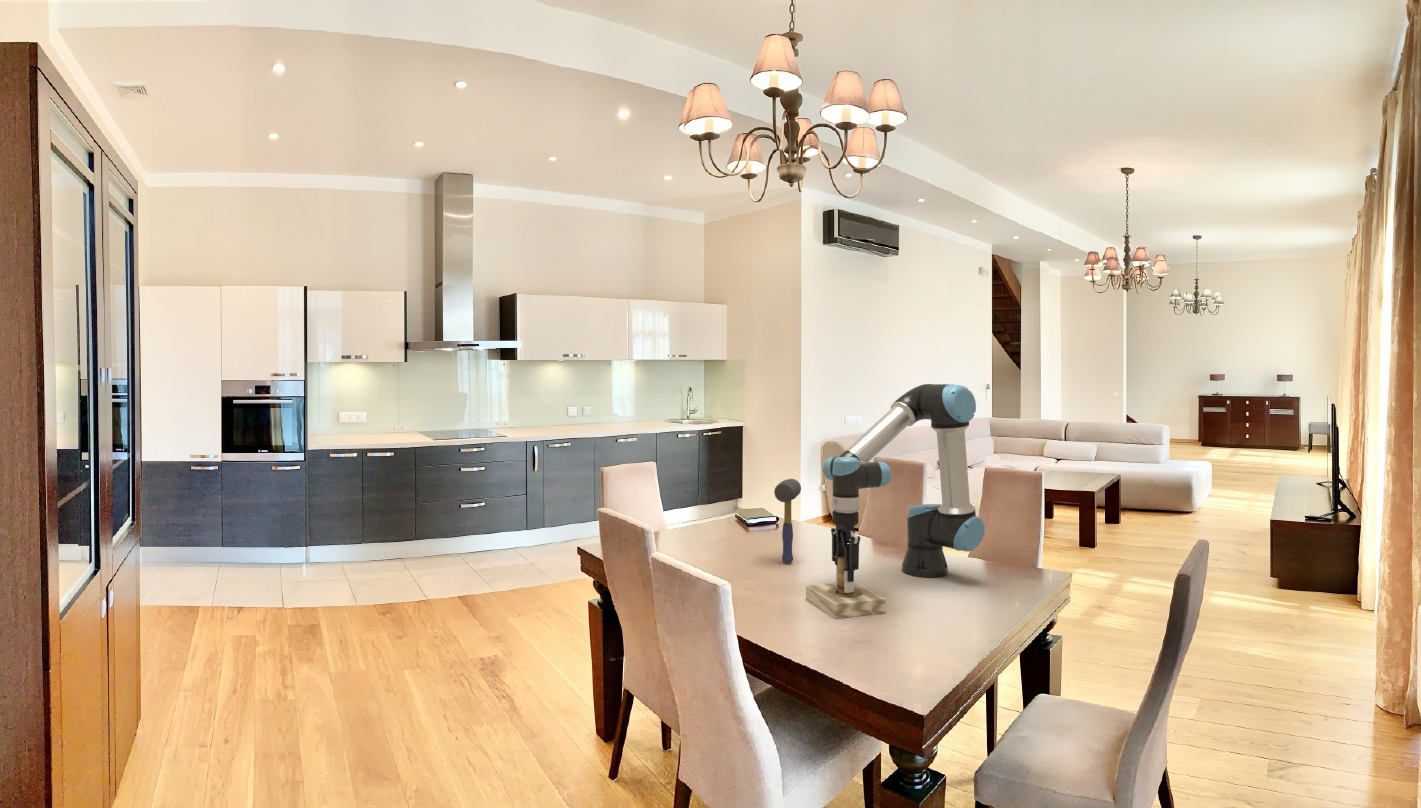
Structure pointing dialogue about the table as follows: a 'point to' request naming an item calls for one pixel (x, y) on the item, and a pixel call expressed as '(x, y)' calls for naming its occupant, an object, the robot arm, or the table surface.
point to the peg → (841, 575)
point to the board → (845, 601)
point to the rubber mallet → (787, 514)
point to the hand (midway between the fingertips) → (844, 589)
